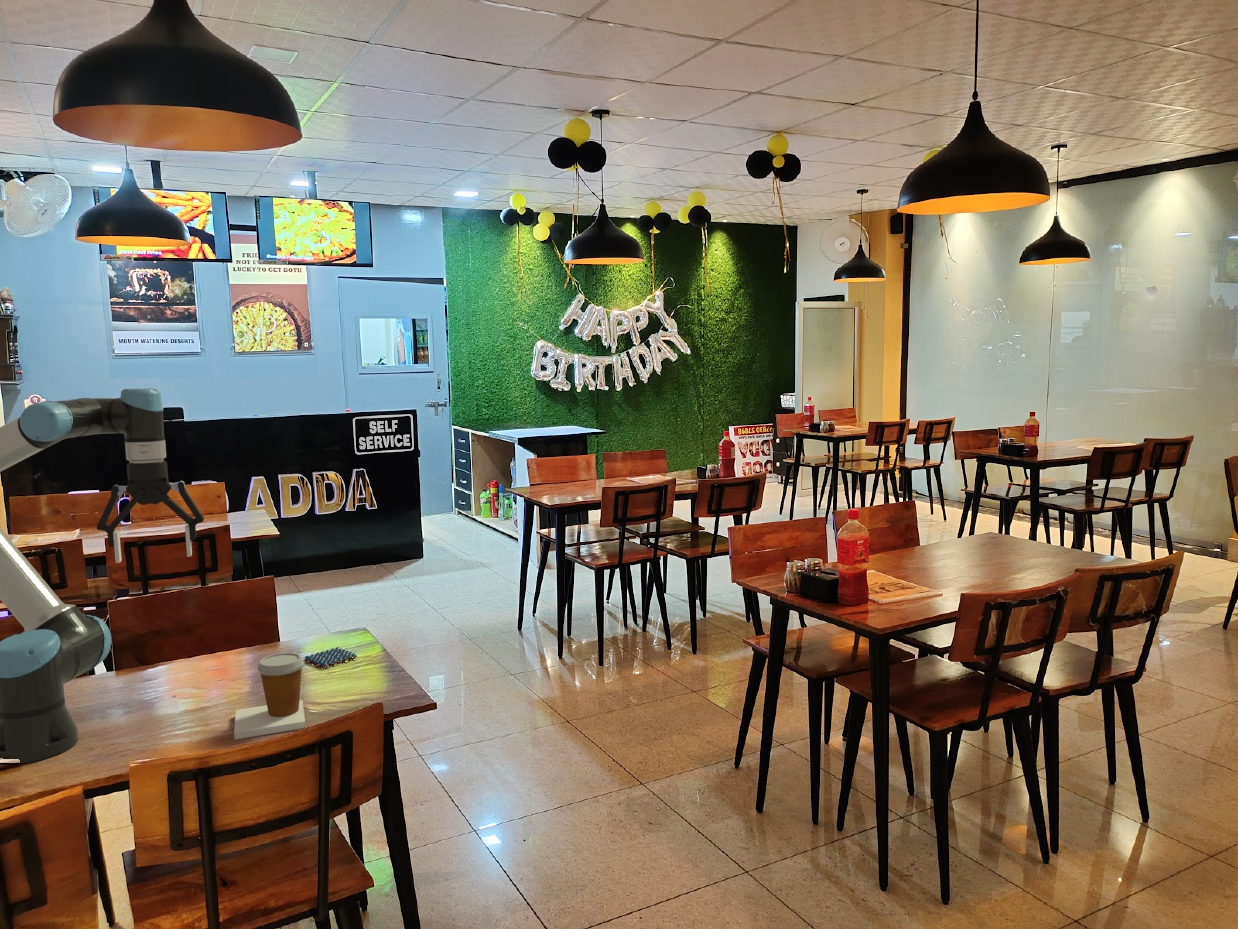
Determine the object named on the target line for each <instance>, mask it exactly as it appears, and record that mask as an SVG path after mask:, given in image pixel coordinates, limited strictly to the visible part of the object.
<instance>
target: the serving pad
mask: <svg viewBox="0 0 1238 929" xmlns="http://www.w3.org/2000/svg"><path fill="white" fill-rule="evenodd" d="M305 718H306V717H305V710H304V702H303V699H299V710H298V711H297V712H296V713H294V714H292V715H288V716H283V717H273V716H270V715H269V713H268V708H267V704H266V705H260V706H252V707H246V708H240V709H236V710H235V716H234V729H233V731H234V732H233V733H234V734H233V737H234V740H241V739H246V738H252V737H257V736H265V735H270V734H276V733H283V732H289V731H295V730H302V729H305V728H306V719H305ZM304 727H305V728H304ZM301 728H302V729H301Z"/></svg>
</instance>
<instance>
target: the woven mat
mask: <svg viewBox="0 0 1238 929" xmlns="http://www.w3.org/2000/svg"><path fill="white" fill-rule="evenodd" d="M352 657H353V658H352ZM356 657H357V658H358V655H357V654H356V653H355V652H353V653H352V651H349V650H346V649H343V648H342V647H341V648H340V647H339V646H337V647H334V648H331V649H325V650H324V651H320V652H316V653H313V654H309V655H306V656H305V657H304V659H302V660H303V661H305V662H304V663H305V664H308V663H309V664H308V665H310V664H313V665H314V666H313V665H312V666H313V667H315V666H316V667H315V668H317V667H319V668H318V669H320V668H324V669H327V668H328V669H330V668H331V667H330V666H332V665H337V664H341V663H342V662H343V663H345V661H349V660H351V659H356V660H357V658H356ZM351 661H352V660H351ZM337 666H338V665H337ZM326 667H327V668H326Z"/></svg>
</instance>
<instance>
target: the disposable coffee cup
mask: <svg viewBox="0 0 1238 929" xmlns="http://www.w3.org/2000/svg"><path fill="white" fill-rule="evenodd" d="M303 660H304V659H303V657H302V655H301V654H299V653H296V652H279V653H274V654H270V655H268V656H267V655H266V656H265V657H263V658H261V659H260V661H259V664H258V665H257V670H258V673H259V674H260V679H261V682H262V688H263V693H264V697H265V703H266V705H267V708H268V713H269V715H270V716H273V717H283V716H288V715H292V714H294V713H296V712H297V711H298V710H299V700H301V699H300V697H301V684H302V683H301V682H302V671H303V670H302V668H303V667H304V663H305V662H304V661H303Z"/></svg>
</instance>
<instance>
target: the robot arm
mask: <svg viewBox="0 0 1238 929" xmlns="http://www.w3.org/2000/svg"><path fill="white" fill-rule="evenodd" d="M164 426H165V425H164V406H163V402H162V395H161V391H160V390H159V389H157V388H154V387H153V388H152V387H145V388H138V387H136V388H124V389H122V390H121V391H120V397H115V398H111V397H110V398H109V397H108V398H100V397H99V398H96V397H95V398H93V397H92V398H91V397H82V398H81V397H79V398H74V399H73V398H71V399H68V400H54V401H53V400H47V401H46V400H45V401H41V402H37V403H36V402H35V403H32V404H30V405H28V406H27V407H25V408H24V410H23V411H22V413H21V415H20V416H19V417H17V418H15V419H13V420H10V421H9V422H7V423H6V424H3V425H2V426H0V473H1V472H2V471H4V470H6V469H8V468H10V467H12V466H14V465H16V464H18V463H20V462H22V461H23V460H26V459H28V458H30V457H31V456H33V455H36V454H37V453H40V452H41V451H43V450H45V449H47V448H49V447H51V446H53V445H55V444H57V443H59V442H61V441H62V440H66V439H73V438H78V437H85V436H92V435H101V434H102V435H103V434H104V435H106V434H123V436H124V446H125V448H124V449H125V459H126V460H127V461H129V462H128V463H127V464H126V471H127V472H126V473H127V485H119V484H114V485H112V486H111V492H110V498H109V499H108V502H107V504H106V506H105V508H104V511H103V512H102V515H101V517H100V519H99V520H98V523H97V525H96V530H97V531H102V532H106V533H107V534H106V535H107V544H108V547H109V548H113V549H114V559H115V563H116V564H120V563H121V562H122V560H123V559H122V549H121V539H120V538H121V536H120V530H119V529H118V530H116V528H118V526H119V524H120V523H121V522H122V521H123V519H125V517H126V516H127V515H128V513H130V512H131V510H132V509H133V508H134V507H135V506H136V504H139V505H141V506H146V505H149V504H150V505H158V504H160V503H163V504H164V505H165V506H167V507H168V508H169V509H170V510H171V511H172V512H174V513H175V515H177V516H178V517H179V518H180V519H181V520H182V521H183V522H185V523H186V525H185V526H184V532H185V544H186V545H185V546H186V557H187V558H189V557H192V555H193V550H192V548H193V547H192V541H196V538H197V528H196V525H198V524H201V523H203V522H204V520H205V517H204V515H203V514H202V512H201V510H200V509H199V507H198V506H197V505H196V503H195V501H194V500H193V498H192V497H191V495H190V494H189V492H188V491H187V487H186V483H185V481H184V480H180V481H177V482H173V483H172V482H170V481H169V473H168V463H167V461H166V460H164V459H165V458H167V449H166V445H167V444H166V439H165V428H164ZM172 489H173V490H174V491H175V493H179V495H180V497H181V499H182V500H183V502H184V503H185V504H186V506H187V507H188V509H189V510H190V512H191V514H192V515H193V516H194V518H193V517H192V516H191V515H190V514H188V512H186V511H185V510H184V509H183V508H182V507H181V506H180V505H179V504H177V502H175V500H173V499H172V497H170V496H169V495H168V494H169V492H170V491H171V490H172ZM125 492H126V493H127V494H128V495H129V496H130V498H131V500H130V501H129V502H128V503H126V505H125V506H124V507H123V509H121V511H120V512H119V514H118V515H116V517H115V518H114V520H113V521H112V522H111V523H110V524H107V523H108V521H109V519H110V517H111V515H112V513H113V510H114V508H115V506H116V504H117V502H118V499H119V498H120V496H123V494H124V493H125ZM0 601H1V602H2V604H3V605H4V606H5V607H6V609H7V610H9V611H10V613H11V614H12V615H13V616H14V618H15V619H16V620H17V622H19V623H20V625H21V626H22V627H23V629H24V630H23V632H21V633H17V634H12V635H11V636H9V637H6V638H4V639H3V640H1V641H0V758H3V759H19V760H20V763H21V764H26V763H32V762H37V761H42V760H44V759H48V758H51V757H54V756H57V755H59V754H61V753H64V752H66V751H68V750H70V749H71V748H73V747H74V746H75V745H76V744H77V743H78V741H79V729H78V726H77V724H76V723H75V721H74V719H73V717H72V715H71V713H70V712H69V710H68V707H67V706H66V699H65V686H64V685H65V684H67V683H69V682H71V681H72V680H74V679H76V678H77V677H79V676H81V675H83V674H85V673H88V672H90V671H92V670H93V669H94V668H95V667H97V666H98V665H100V664H101V663H103V661H105V659H106V658H107V656H108V654H109V653H110V650H111V645H112V633H111V631H110V629H109V627H108V625H107V623H106V622H105V621H104V620H103V619H101V618H100V617H97V616H95V615H94V616H93V615H90V614H83V613H82V611H81V610H80V609H79V608H78V607H77V606H76V604H69V603H68V604H67V603H64V602H63V601H62V600H61V599H60V598H59V597H58V595H57V594H56V593H55V592H54V590H53V589H52V588H51V587H50V585H49V584H48V583H47V582H46V580H44V578H43V577H42V576H41V575H40V573H39V572H38V571H37V570H36V569H35V568H34V566H33V565H32V564H31V563H30V561H29V560H28V559H27V557H25V555H24V554H23V553H22V552H21V551H20V550H19V549H18V547H17V546H16V545H15V544H14V542H13V541H12V540H11V539H10V537H9V536H8V535H7V534H6V533H5V532H4V530H3V529H2V528H1V527H0ZM67 749H68V750H67ZM58 753H59V754H58ZM56 754H57V755H56ZM50 756H51V757H50Z"/></svg>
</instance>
